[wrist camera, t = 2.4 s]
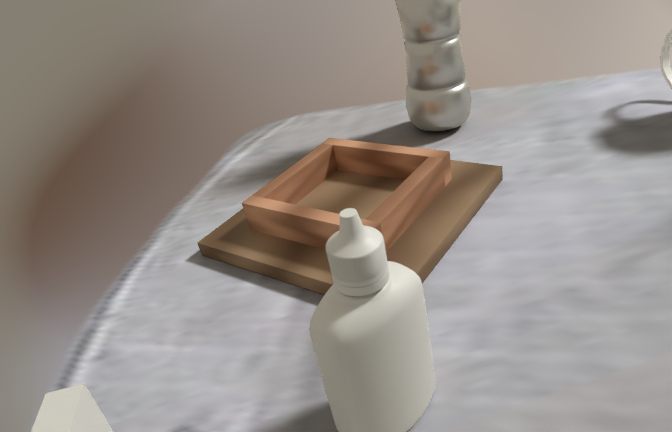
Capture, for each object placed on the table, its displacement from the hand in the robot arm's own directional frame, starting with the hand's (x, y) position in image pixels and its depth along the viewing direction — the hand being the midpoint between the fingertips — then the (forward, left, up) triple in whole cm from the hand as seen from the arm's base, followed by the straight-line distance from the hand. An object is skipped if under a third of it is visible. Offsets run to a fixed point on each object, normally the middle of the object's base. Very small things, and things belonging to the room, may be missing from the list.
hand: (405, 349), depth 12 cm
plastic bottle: (+20, -40, -14) cm, 47 cm away
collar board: (+19, -22, -14) cm, 32 cm away
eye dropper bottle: (+7, -7, -14) cm, 17 cm away
